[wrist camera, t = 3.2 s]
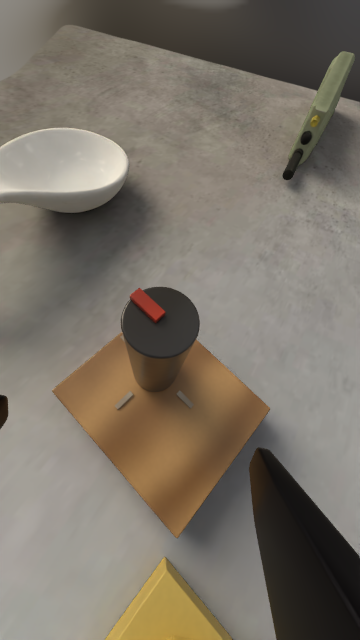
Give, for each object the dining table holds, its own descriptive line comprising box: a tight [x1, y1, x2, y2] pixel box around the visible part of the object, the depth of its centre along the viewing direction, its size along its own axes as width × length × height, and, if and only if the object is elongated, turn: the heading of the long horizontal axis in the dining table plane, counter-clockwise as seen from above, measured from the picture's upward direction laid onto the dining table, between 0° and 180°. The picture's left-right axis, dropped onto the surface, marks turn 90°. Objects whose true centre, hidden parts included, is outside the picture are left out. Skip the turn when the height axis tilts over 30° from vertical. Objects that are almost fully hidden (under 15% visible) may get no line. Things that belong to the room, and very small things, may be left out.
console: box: [52, 332, 270, 538], centre depth 18 cm, size 12×10×3 cm
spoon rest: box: [0, 128, 129, 213], centre depth 22 cm, size 24×12×7 cm, turn 155°
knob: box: [121, 287, 200, 392], centre depth 14 cm, size 3×3×9 cm
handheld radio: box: [283, 52, 355, 180], centre depth 35 cm, size 7×3×25 cm
